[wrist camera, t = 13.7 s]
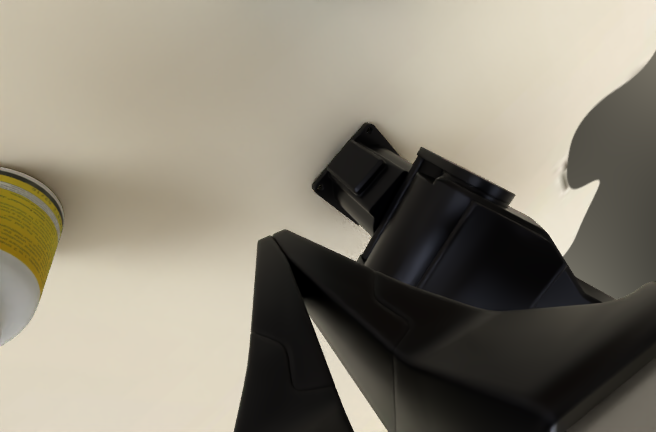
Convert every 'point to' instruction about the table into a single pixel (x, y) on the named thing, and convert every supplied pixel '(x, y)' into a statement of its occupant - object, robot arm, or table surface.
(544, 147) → the table surface
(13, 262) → the supplement bottle
